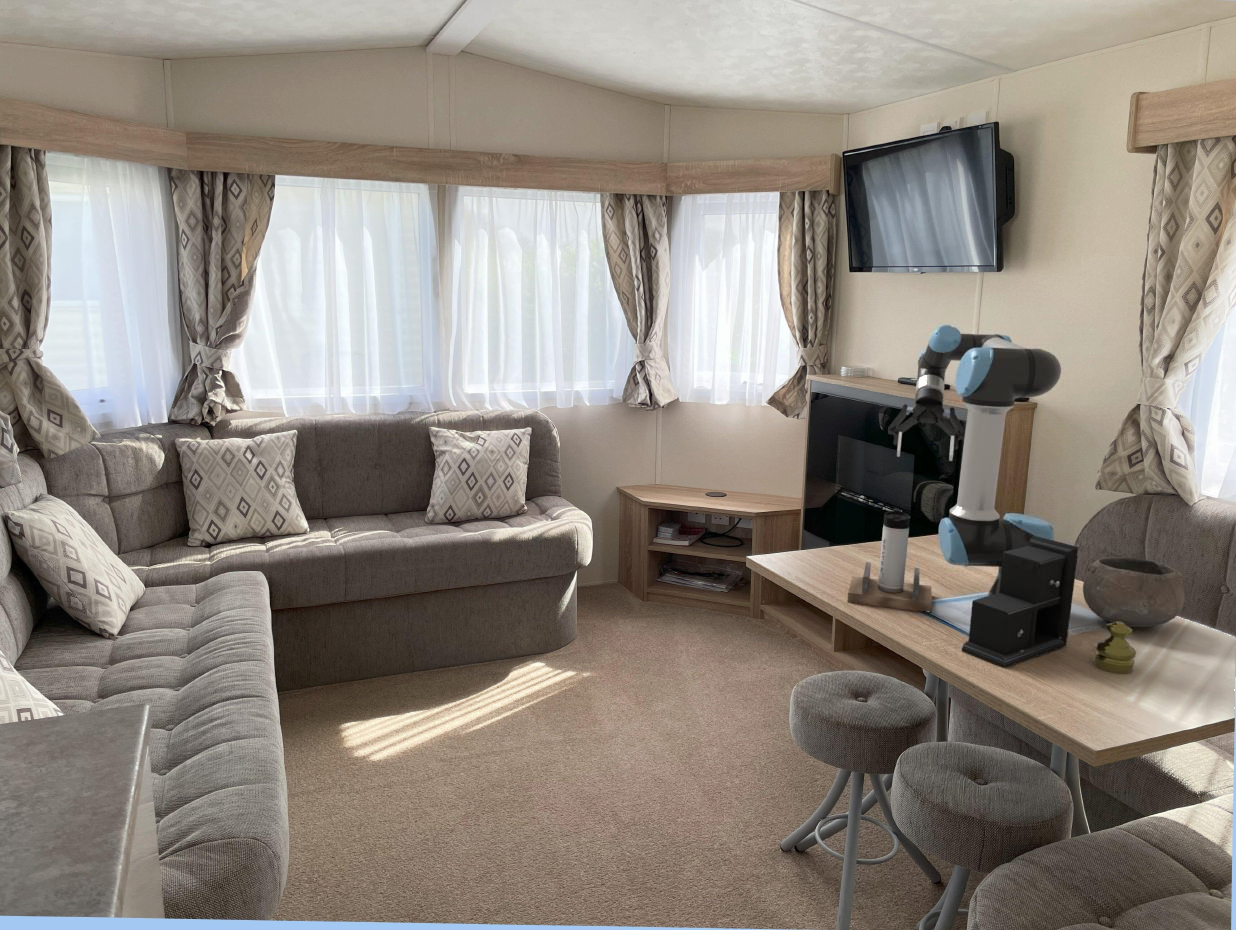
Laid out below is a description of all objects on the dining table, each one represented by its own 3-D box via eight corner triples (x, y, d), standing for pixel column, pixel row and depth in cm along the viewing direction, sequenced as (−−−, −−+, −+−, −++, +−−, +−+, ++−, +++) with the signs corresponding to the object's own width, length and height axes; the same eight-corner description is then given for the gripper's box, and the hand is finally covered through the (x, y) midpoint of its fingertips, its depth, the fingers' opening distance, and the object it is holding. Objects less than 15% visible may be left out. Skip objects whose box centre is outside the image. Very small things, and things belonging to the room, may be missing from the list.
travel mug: (903, 586, 233) (910, 511, 229) (902, 594, 227) (910, 517, 223) (878, 583, 235) (885, 508, 231) (876, 591, 229) (883, 514, 225)
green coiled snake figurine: (1123, 677, 187) (1129, 631, 185) (1087, 665, 193) (1093, 620, 191) (1139, 669, 191) (1146, 624, 189) (1104, 657, 197) (1110, 614, 195)
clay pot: (1064, 620, 219) (1072, 560, 216) (1101, 602, 233) (1108, 546, 230) (1159, 647, 204) (1168, 584, 201) (1192, 627, 217) (1202, 567, 214)
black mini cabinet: (1004, 669, 190) (1016, 561, 185) (960, 651, 199) (971, 548, 194) (1067, 647, 202) (1080, 546, 198) (1023, 631, 211) (1035, 534, 207)
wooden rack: (930, 595, 235) (932, 569, 234) (930, 612, 222) (933, 585, 220) (851, 585, 241) (853, 560, 240) (847, 601, 228) (849, 575, 227)
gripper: (975, 406, 255) (972, 467, 244) (883, 400, 263) (876, 459, 252) (978, 389, 249) (975, 451, 238) (884, 384, 257) (877, 444, 246)
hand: (924, 456), depth 245 cm, fingers open, 13 cm apart
